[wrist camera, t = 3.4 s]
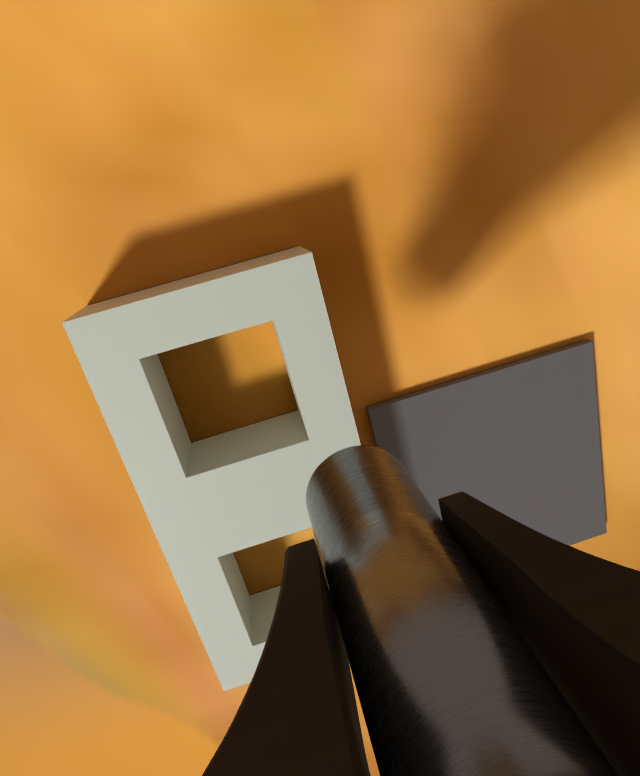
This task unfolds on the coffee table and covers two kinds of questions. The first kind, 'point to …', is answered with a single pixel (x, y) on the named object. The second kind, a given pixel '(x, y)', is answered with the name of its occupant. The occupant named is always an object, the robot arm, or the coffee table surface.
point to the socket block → (223, 451)
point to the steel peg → (433, 637)
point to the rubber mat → (508, 441)
